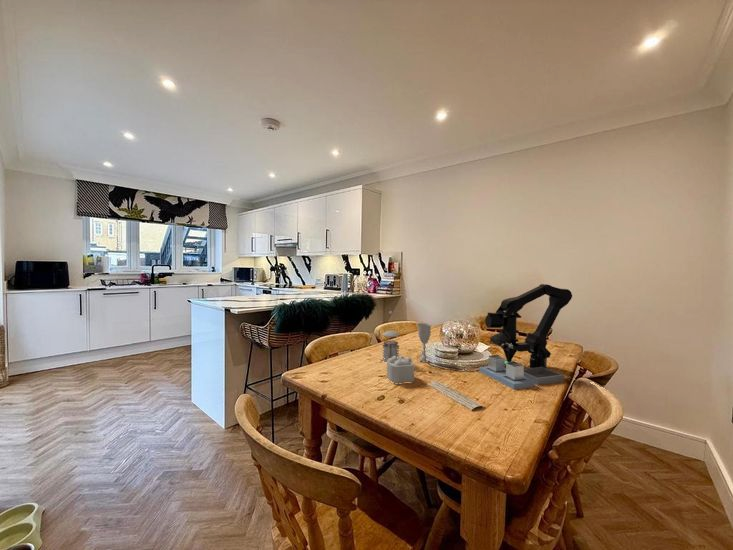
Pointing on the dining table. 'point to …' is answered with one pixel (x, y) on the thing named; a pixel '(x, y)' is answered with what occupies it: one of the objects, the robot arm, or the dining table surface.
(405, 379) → the fruit punnet
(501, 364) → the block
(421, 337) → the chalice
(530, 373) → the tray
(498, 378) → the pallet
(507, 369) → the block
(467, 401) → the grooved grey strip
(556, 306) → the robot arm
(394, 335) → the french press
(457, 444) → the dining table surface
